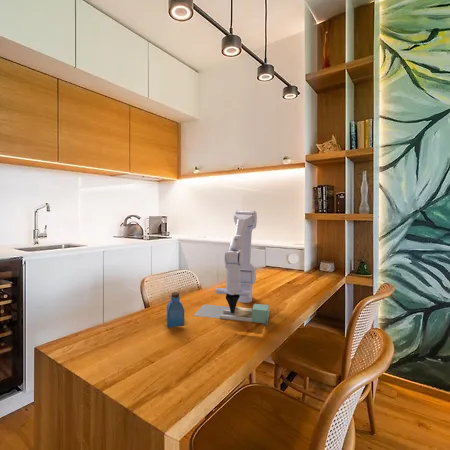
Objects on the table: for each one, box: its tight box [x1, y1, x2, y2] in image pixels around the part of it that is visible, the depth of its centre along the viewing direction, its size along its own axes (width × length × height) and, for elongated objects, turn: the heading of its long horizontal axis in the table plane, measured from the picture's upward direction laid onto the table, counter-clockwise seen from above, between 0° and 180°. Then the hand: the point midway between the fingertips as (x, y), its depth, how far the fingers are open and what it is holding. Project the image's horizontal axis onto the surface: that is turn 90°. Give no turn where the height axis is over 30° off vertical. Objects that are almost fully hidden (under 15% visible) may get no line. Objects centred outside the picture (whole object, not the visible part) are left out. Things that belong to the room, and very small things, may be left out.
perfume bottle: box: [166, 291, 185, 328], centre depth 112 cm, size 6×6×12 cm
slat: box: [235, 306, 252, 318], centre depth 116 cm, size 12×3×4 cm, turn 77°
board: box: [193, 303, 271, 327], centre depth 121 cm, size 14×30×6 cm, turn 77°
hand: (232, 312), depth 118 cm, fingers closed
